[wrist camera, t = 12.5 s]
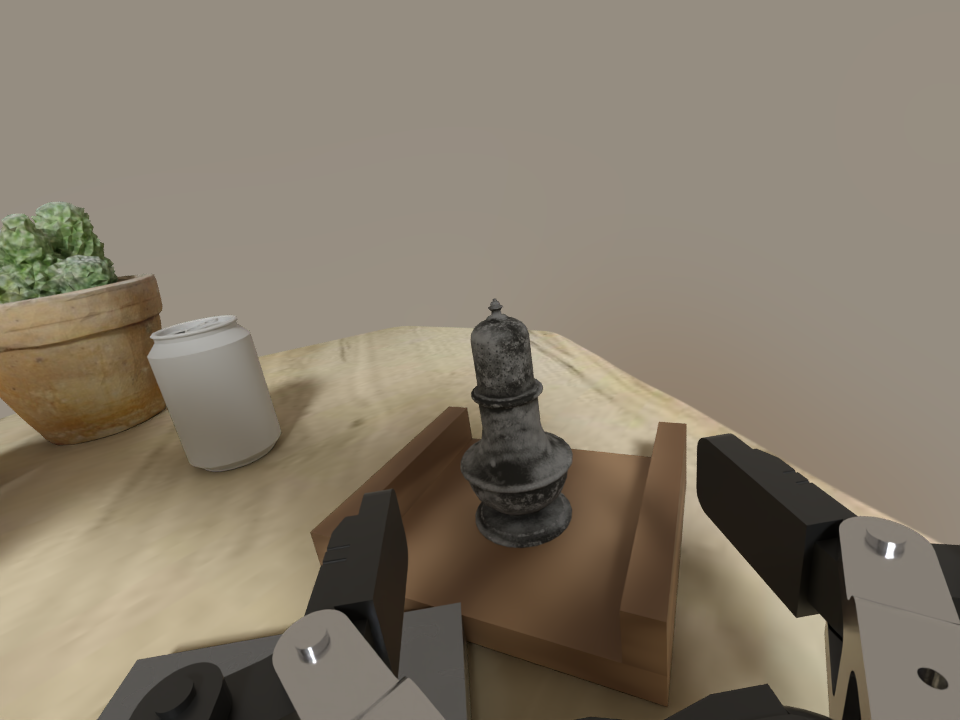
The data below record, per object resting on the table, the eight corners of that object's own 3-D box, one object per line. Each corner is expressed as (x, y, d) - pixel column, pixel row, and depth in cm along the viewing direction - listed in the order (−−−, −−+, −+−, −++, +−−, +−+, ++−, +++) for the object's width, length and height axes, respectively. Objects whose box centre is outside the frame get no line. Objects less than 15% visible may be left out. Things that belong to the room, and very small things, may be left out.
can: (188, 456, 42) (137, 329, 38) (273, 425, 46) (235, 307, 42) (197, 488, 36) (139, 342, 32) (294, 450, 40) (252, 316, 36)
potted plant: (139, 388, 65) (63, 204, 57) (234, 390, 58) (162, 180, 50) (-32, 457, 49) (-170, 215, 41) (71, 471, 42) (-72, 182, 34)
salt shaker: (540, 470, 29) (519, 280, 25) (601, 522, 24) (585, 292, 20) (454, 505, 27) (416, 303, 23) (499, 570, 22) (459, 323, 18)
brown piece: (330, 596, 23) (310, 532, 22) (457, 453, 35) (449, 406, 34) (667, 707, 16) (666, 622, 15) (686, 482, 28) (686, 423, 27)
